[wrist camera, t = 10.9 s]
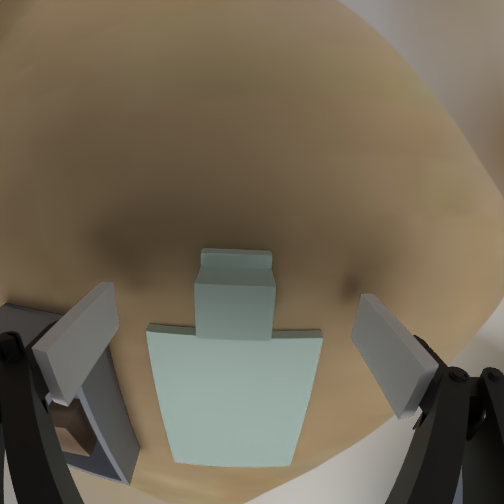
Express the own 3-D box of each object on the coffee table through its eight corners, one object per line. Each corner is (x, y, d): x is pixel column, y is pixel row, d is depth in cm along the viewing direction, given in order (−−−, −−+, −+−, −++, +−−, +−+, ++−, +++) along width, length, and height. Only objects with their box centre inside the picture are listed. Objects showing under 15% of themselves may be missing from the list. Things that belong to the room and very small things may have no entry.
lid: (142, 245, 17) (121, 264, 13) (331, 252, 17) (351, 273, 14) (176, 454, 23) (171, 480, 20) (288, 458, 23) (292, 484, 20)
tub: (6, 302, 18) (-28, 328, 13) (103, 321, 18) (72, 361, 13) (55, 424, 22) (39, 453, 17) (140, 448, 22) (129, 485, 18)
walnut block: (54, 396, 20) (37, 422, 16) (82, 398, 20) (66, 428, 16) (74, 424, 21) (60, 450, 17) (103, 427, 21) (90, 456, 17)
